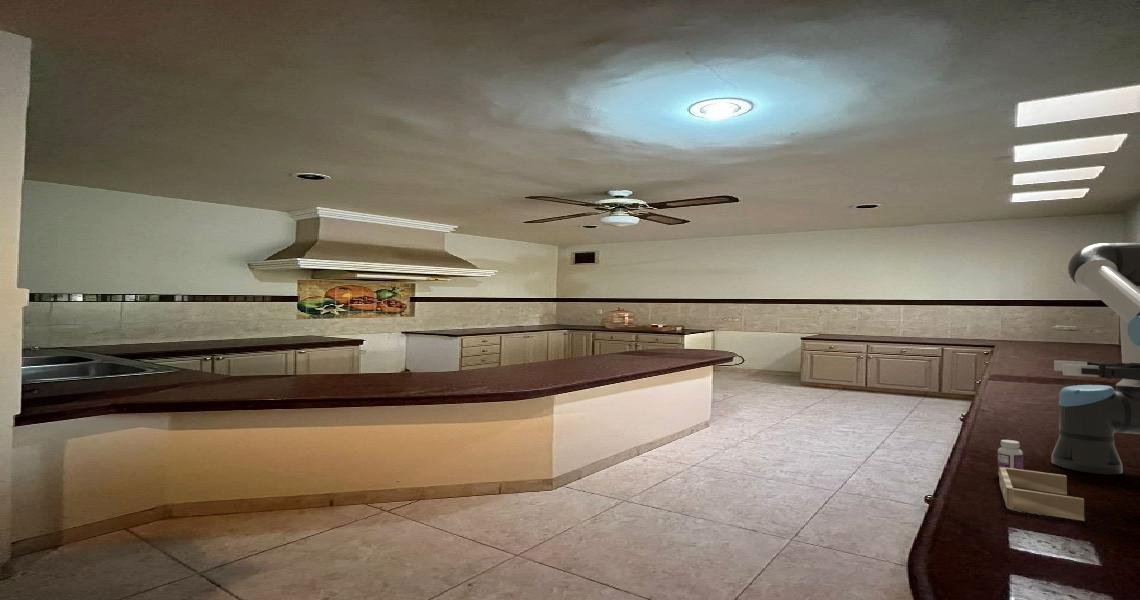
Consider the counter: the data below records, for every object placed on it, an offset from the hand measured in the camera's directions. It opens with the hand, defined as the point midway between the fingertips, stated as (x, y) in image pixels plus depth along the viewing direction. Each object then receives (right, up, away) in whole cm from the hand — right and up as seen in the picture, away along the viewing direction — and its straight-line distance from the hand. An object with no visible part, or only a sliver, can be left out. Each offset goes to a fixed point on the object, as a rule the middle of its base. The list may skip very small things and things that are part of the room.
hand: (1058, 367), depth 147 cm
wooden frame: (-17, -30, -14) cm, 37 cm away
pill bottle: (-8, -30, +5) cm, 32 cm away
